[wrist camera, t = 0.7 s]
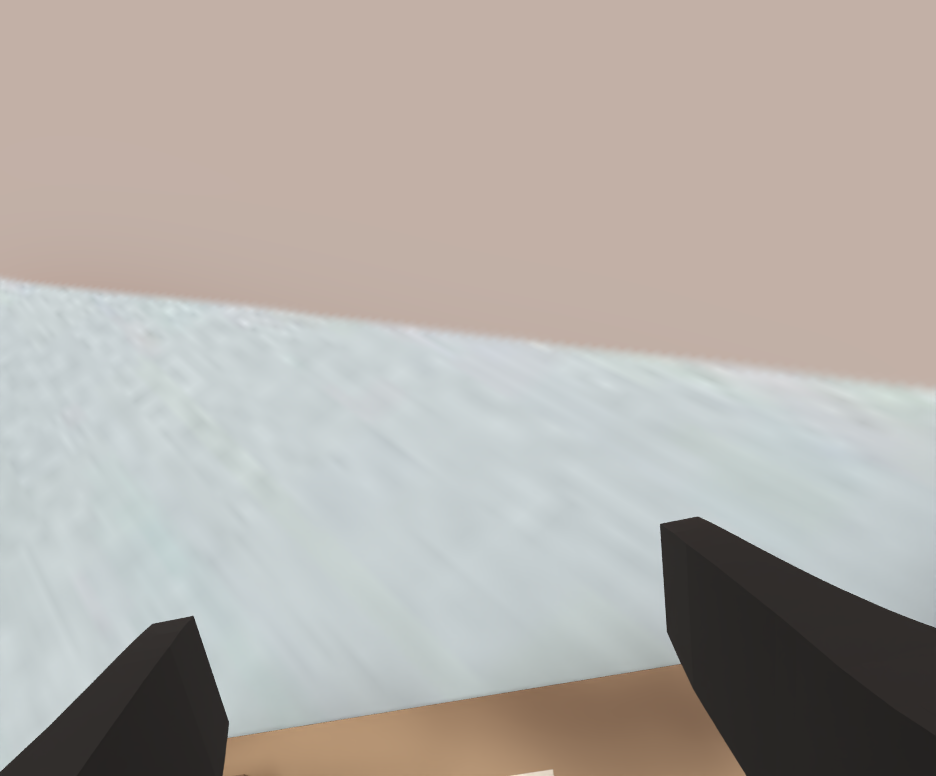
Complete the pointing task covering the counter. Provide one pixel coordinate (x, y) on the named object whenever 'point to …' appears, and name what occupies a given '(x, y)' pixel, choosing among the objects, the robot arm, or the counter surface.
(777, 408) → the counter surface
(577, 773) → the shelf lane
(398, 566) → the counter surface
